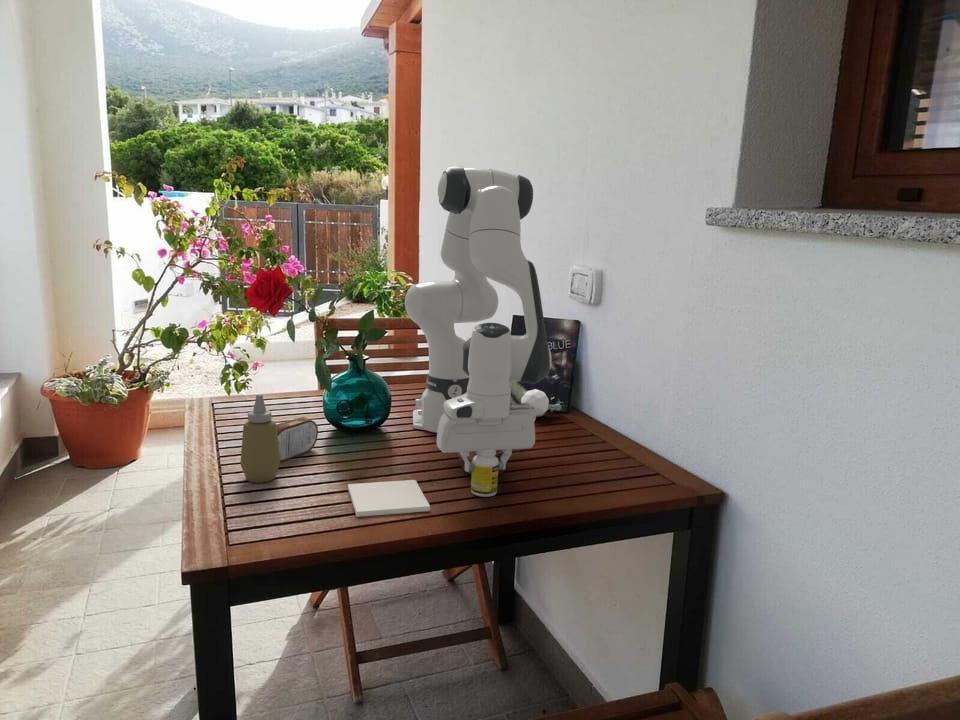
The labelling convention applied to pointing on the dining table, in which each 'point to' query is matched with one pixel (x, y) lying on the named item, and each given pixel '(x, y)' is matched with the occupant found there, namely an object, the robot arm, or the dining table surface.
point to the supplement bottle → (485, 473)
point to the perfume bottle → (539, 402)
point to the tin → (296, 437)
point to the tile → (387, 498)
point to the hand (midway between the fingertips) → (485, 469)
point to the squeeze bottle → (260, 445)
